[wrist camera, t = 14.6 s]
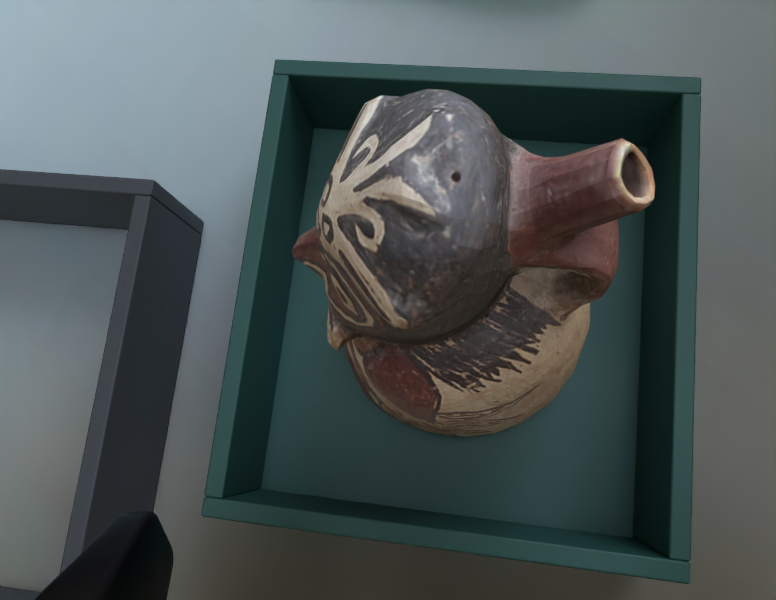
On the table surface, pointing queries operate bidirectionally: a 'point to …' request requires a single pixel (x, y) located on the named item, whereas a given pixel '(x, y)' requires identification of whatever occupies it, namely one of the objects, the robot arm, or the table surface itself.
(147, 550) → the robot arm
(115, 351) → the grey tote
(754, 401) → the table surface
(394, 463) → the teal tote
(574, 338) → the ceramic spout vessel
